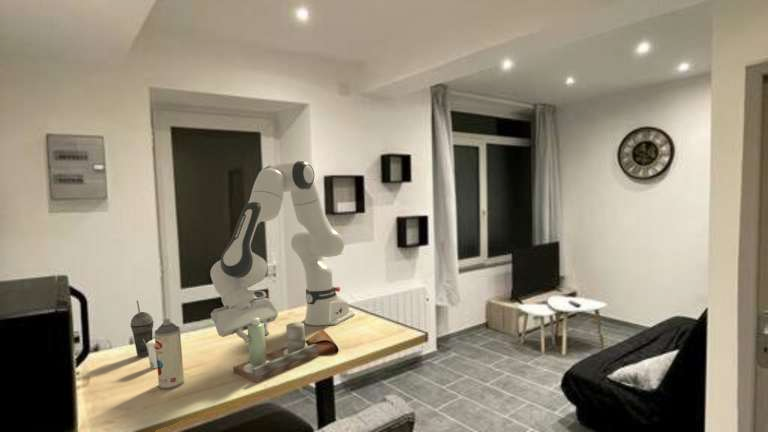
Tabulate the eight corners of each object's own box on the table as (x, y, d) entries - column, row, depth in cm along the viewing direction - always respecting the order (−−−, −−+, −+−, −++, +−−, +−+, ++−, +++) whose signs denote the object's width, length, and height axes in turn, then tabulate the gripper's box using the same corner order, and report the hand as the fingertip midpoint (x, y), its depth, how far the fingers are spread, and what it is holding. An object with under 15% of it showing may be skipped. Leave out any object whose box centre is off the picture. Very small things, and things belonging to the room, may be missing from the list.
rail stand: (295, 347, 154) (294, 318, 153) (319, 355, 145) (317, 325, 144) (233, 371, 135) (231, 338, 134) (256, 382, 127) (254, 347, 126)
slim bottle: (260, 357, 138) (257, 315, 137) (269, 361, 135) (266, 318, 134) (246, 362, 134) (243, 319, 133) (255, 366, 131) (252, 322, 130)
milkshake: (146, 366, 142) (143, 337, 142) (164, 362, 145) (161, 334, 144) (144, 371, 138) (142, 341, 138) (163, 367, 140) (160, 338, 140)
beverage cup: (146, 359, 148) (141, 303, 146) (128, 359, 149) (123, 303, 148) (161, 351, 155) (156, 297, 153) (143, 350, 156) (139, 297, 155)
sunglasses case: (303, 340, 160) (311, 323, 161) (319, 346, 163) (327, 330, 164) (315, 357, 144) (324, 339, 145) (332, 364, 146) (341, 346, 147)
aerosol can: (157, 383, 129) (151, 319, 127) (181, 377, 133) (176, 314, 131) (160, 392, 123) (155, 324, 122) (186, 384, 127) (181, 319, 126)
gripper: (211, 305, 130) (230, 343, 124) (268, 290, 145) (288, 323, 140) (205, 316, 133) (223, 354, 127) (262, 301, 148) (280, 334, 143)
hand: (257, 338), depth 134 cm, fingers closed on slim bottle, 5 cm apart
